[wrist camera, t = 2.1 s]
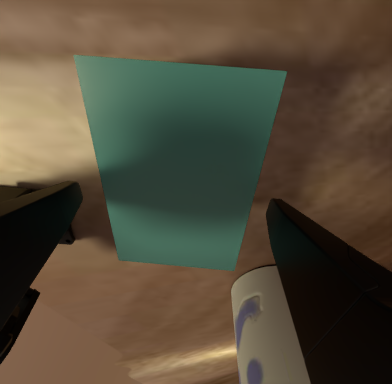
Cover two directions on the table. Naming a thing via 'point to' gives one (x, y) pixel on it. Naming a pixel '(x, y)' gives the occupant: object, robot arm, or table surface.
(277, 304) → the container
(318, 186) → the table surface
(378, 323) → the robot arm
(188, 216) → the lid
